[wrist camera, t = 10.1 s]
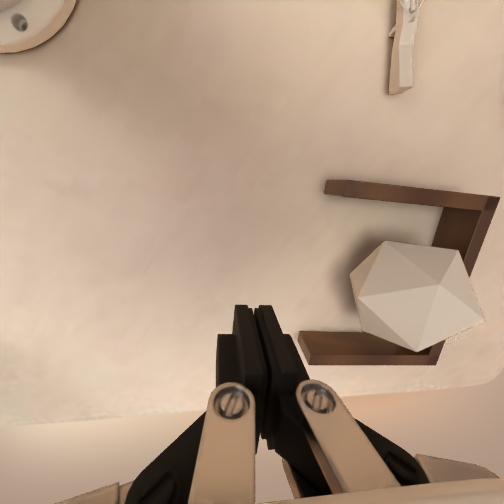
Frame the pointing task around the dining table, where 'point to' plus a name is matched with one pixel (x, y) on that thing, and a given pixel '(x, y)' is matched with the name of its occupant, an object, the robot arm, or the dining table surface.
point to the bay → (447, 236)
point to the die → (414, 294)
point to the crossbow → (403, 46)
